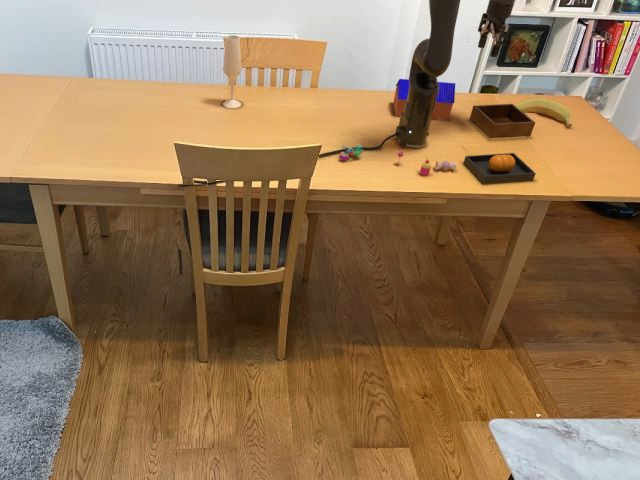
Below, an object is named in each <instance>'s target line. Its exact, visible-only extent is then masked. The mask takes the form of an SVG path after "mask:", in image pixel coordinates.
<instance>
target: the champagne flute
mask: <svg viewBox="0 0 640 480" xmlns="http://www.w3.org/2000/svg"><path fill="white" fill-rule="evenodd" d="M241 51H242V50H241V37H240V36H239V35H236V34H230V35H229V34H228V35H226V36H225V44H224V54H223V65H222V66H223V67H222V71H223V73H224V74H225V75H226V76H227V77H228V78H229V79H230V98H229V99H228V100H226V101H224V102H223V103H222V105H223V106H224V107H225V108H229V109H237V108H240V107H241V106H242V103H241V102H239V101H238V100H236V99H235V79H236V78H237V77H238V76H240V74H241V73H242V71H243V64H242V63H243V62H242V52H241Z"/></svg>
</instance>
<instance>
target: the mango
mask: <svg viewBox="0 0 640 480" xmlns="http://www.w3.org/2000/svg"><path fill="white" fill-rule="evenodd" d="M514 165H515V159H514V158H513V157H512V156H511V155H495V156H493V157H492V158H491V159H490V160H489V168H490V169H491V170H492V171H494V172H503V171H509V170H511V169H512V168H513V167H514Z"/></svg>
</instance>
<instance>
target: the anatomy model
mask: <svg viewBox="0 0 640 480" xmlns="http://www.w3.org/2000/svg"><path fill="white" fill-rule="evenodd" d="M355 145H357V146H355V147H356V149H352V148H353V147H351V146H345V145H343V144H342V145H341V146H339V148H341V149H342V150H343V149H344V150H346V151H344V152H339V157H340V160H341V161H347V160H348V159H349V157H350V156H351V157H352V158H358V156H360V155H361V156H362V155H363V151H364V150H363V149H360V147H361V148H362V147H363V146H362V145H361V144H359V143H357V142H355ZM347 149H348V150H347ZM347 153H348V154H347ZM349 155H350V156H349Z"/></svg>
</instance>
